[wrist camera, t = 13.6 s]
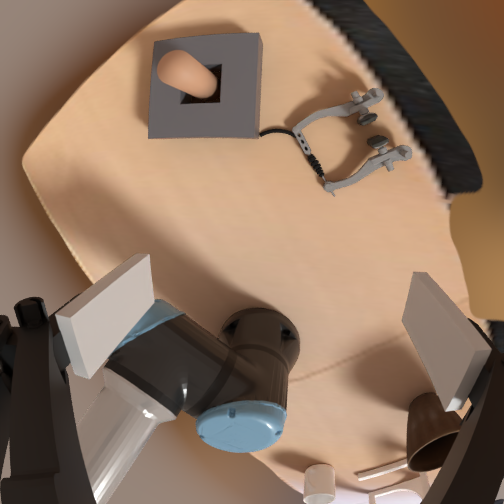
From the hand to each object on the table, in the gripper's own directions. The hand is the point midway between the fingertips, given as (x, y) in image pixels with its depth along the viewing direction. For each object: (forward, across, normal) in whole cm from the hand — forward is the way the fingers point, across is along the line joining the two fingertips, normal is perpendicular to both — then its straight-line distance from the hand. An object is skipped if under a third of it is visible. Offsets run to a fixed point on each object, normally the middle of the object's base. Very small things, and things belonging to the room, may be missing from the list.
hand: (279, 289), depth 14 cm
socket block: (+34, +13, -16) cm, 40 cm away
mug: (+35, -14, +73) cm, 82 cm away
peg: (+34, +13, -16) cm, 40 cm away
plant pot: (+35, -36, +45) cm, 67 cm away
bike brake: (+35, -7, -8) cm, 36 cm away
